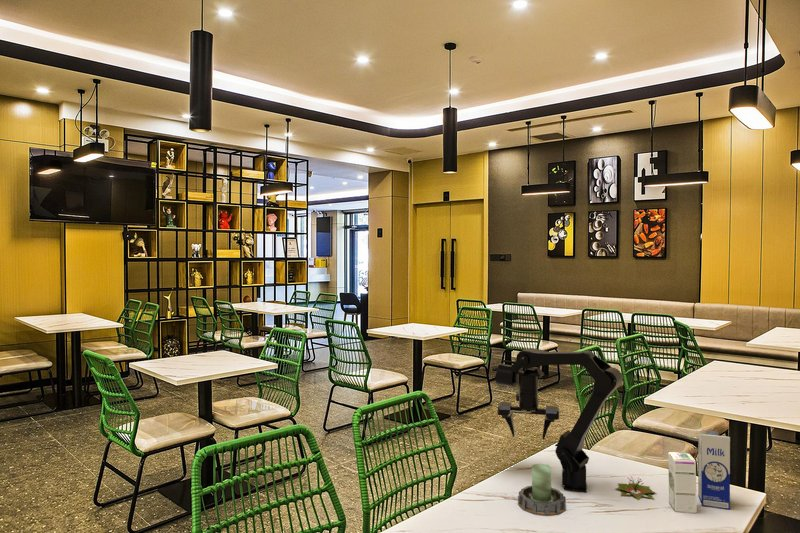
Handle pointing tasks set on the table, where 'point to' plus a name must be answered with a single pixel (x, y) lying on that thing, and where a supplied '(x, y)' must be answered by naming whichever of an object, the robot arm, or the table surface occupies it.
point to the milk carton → (714, 470)
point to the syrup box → (682, 482)
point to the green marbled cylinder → (541, 483)
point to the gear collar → (542, 503)
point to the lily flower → (635, 489)
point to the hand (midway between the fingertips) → (528, 437)
